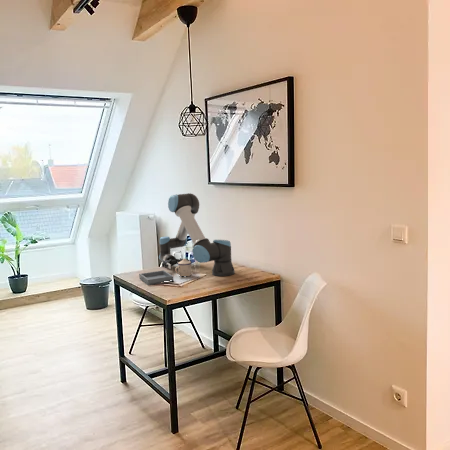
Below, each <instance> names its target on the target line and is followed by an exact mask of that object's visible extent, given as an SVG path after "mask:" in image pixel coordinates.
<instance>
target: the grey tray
mask: <svg viewBox="0 0 450 450" xmlns="http://www.w3.org/2000/svg"><path fill="white" fill-rule="evenodd" d="M138 276H139V280H140V281H141V282H143V284H145V285H147V286H152V285H159V284H162V283H161V282H164V281H170V280H174V275H172V274H170V273H169V272H167V271H166V270H163V269H162V270H157V271H148V272H143V273H139V275H138Z"/></svg>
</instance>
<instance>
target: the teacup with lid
mask: <svg viewBox="0 0 450 450" xmlns="http://www.w3.org/2000/svg"><path fill="white" fill-rule="evenodd" d="M182 259H183V260H182V261H180V262H178V264H177V265H178V266H176V267H175V268H174V270H175V273H176V274H178V276H179V275H180V276H189V275H191V276H192V275H193V274H192V262H191V260H190V261H188V260H189V259H188V260H186V258H182ZM180 276H179V277H180ZM189 277H190V276H189Z"/></svg>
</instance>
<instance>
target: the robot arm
mask: <svg viewBox="0 0 450 450" xmlns="http://www.w3.org/2000/svg"><path fill="white" fill-rule="evenodd" d="M199 200H200V199H199V198H198V197H197V196H196V195H195V194H194V193H191V192H190V193H180V194H179V193H178V194H172V195H171V196H169V198H168V200H167V201H168V203H167V205H168V206H167V207H168V210H169V211H170V213H174V214H175V216H176V217H178V218H179V219H180V220H181V222H180V224H179V227H178V230H177V232H176V233H177V234H176V236H175V237H172V238H171V237H170V236H168V235H166V236H161V237H160V238H159V250H160V251H159V256H158V259H159V261H161V262H162V263H161V267H162V268H164V269H170V270H171V269H172V267H173V266H175V265H178V262H180V261H182V260H183V259H184V258H176V256H175V255H173V254H171V250H172V249H176V248H183V247H186V246H187V245H188V243H187V240H188V237H187V236H188V235H189V238H190V240H191V242H192V244H193V245H192V257H193V258H194V260H195V261H196V262H197V263H200V264H201V263H203V264H204V263H209V262H213V261H214V263H213V267H212V270H211V271H212V272H211V273H212V275H213V276H215V277H228V276H233V275H234V274H235V273H236V272H235V268H234V265H233V263H232V244H231V241H230V240H227V239H213V241H212V242H211V240H210V239H209V238H206V236H205V234H204V233H203V231H202V229H201V228H200V226H199V224H198V221H197V220H196V218H195V215H196V214H198V213H199V209H200V201H199ZM186 244H187V245H186ZM185 259H186V258H185ZM186 260H188V261H190V262H191V260H190V259H188V258H187V259H186Z"/></svg>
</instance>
